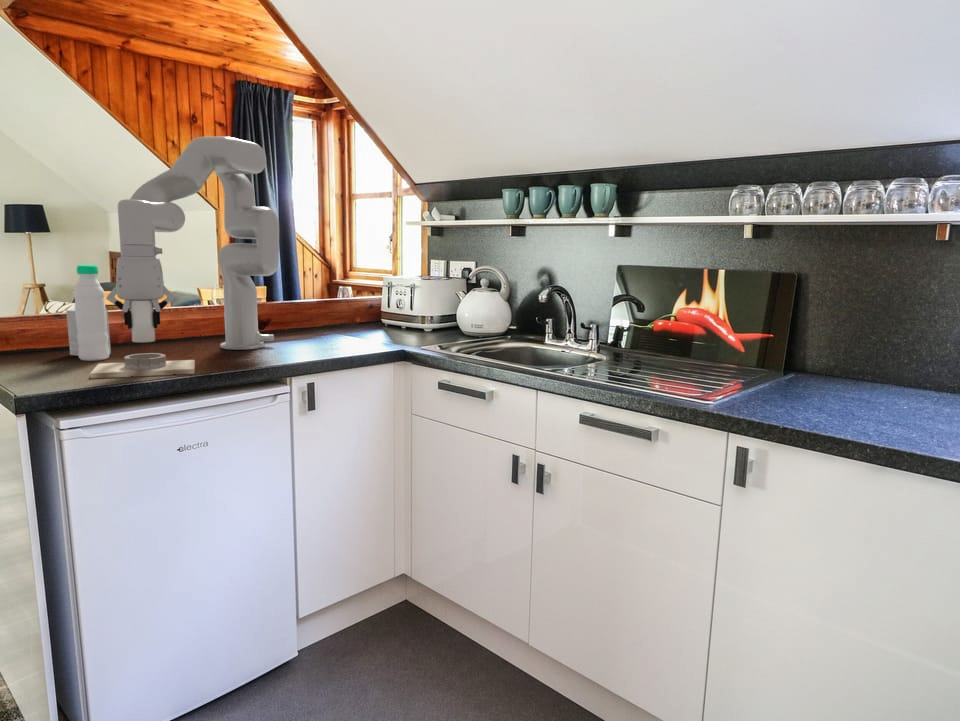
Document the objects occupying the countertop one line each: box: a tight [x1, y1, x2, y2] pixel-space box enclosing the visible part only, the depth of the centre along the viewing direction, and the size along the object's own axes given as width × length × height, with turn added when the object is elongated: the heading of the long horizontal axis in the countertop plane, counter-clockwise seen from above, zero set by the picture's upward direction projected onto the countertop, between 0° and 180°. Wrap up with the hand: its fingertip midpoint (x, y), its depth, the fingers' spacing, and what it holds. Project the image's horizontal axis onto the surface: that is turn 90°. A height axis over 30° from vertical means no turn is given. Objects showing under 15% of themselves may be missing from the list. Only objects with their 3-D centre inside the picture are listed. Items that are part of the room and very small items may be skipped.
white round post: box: [129, 300, 156, 343], centre depth 157 cm, size 5×5×10 cm
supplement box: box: [65, 308, 112, 357], centre depth 178 cm, size 7×7×13 cm
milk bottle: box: [73, 264, 110, 362], centre depth 171 cm, size 7×7×25 cm
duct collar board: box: [89, 352, 196, 379], centre depth 159 cm, size 22×13×4 cm, turn 113°
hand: (143, 327), depth 157 cm, fingers closed on white round post, 5 cm apart
